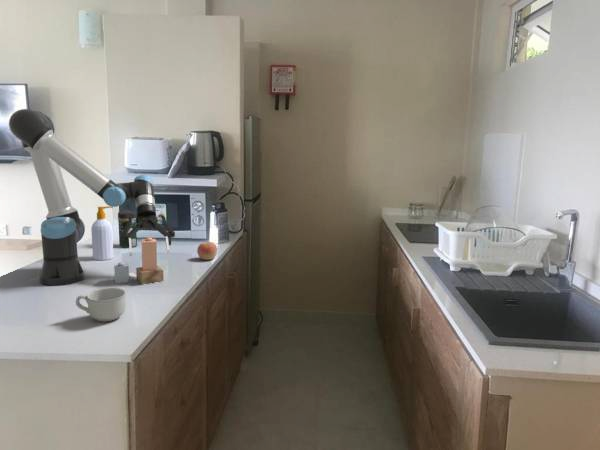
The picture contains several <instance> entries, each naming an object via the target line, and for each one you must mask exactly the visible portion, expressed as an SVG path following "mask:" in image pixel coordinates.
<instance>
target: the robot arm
mask: <svg viewBox="0 0 600 450" xmlns="http://www.w3.org/2000/svg"><path fill="white" fill-rule="evenodd" d="M8 127H9V130H10V132H11V133H12V134H13V136H14V137H15V138H17V139H18V140H20V141H21V144H22V148H23V149H24V150H25V151H27V152H28V153H29V155H30V158H31V162H32V165H33V168H34V171H35V173H36V176H37V180H38V182H39V186H40V189H41V193H42V195H43V199H44V201H45V204H46V205H45V206H46V208H47V210H48V213H47V214H46V216H45V218H46V219H45V220H43V221H42V222H41V224H40V233H41V246H42V259H43V262H42V267H41V271H40V272H39V282H40V284H42V285H46V286H62V285H70V284H75V283H76V282H80V281H82V280H83V279H84V278H85V271H84V269H83V267H82V264H81V262H80V261H79V256H78V243H79V242H80V241H81V240H82V239H83V237H84V235H85V229H86V226H85V224H84V221H83V220H82V219H81V217H80V215H79V211H78V209H77V208H75V207H73V205H72V202H71V200H70V196H69V193H68V190H67V189H68V188H67V187H66V184H65V180H64V177H63V173H62V170H61V169H63V170H64V171H66V172H67V173H69V174H70V175H71V176H73V177H74V178H75V179H76V180H78V181H79V182H81V184H83V185H84V186H86V188H89V190H91V192H93V193H95V194H96V195H97V196H99V197H100V198H101V199H102V200H103V201H104V203H105V204H106V206H107V205H108V206H110V207H113V208H116V207H119V206H121V205H123V204H124V203H125V202H128V201H129V202H130V201H135V214H136V219H132V217H129V220H128V223H127V225H126V227H125V228H124V230H123V232H122V234H121V235H120V237H121V240H125V241H126V248H125V249H129V250H128V251H129V257H132V256H133V247H131V238H132V237H133V236H134V235H135V234H136V235H137V233H138V232H139V231H141V230H142V229H143V230H145V229H146V230H147V229H154V230H155V231H158V233H160V234H161V235H162V236H164V237H165V238H164V239H165V249H166V254H167V255H169V254H170V246H172V238H175V237H176V233H175V230H174V229H173V228H172V227H171V225H170V224H169V223H168V221H167V220H166V217H165V216H164V215H161V217H157V210H156V200H155V190H154V189H155V188H154V183H153V180H152V179H153V178H152V177H151V176H149V175H147V174H139V175H138V176H136V177H134V180H133V181H130V182H129V181H128V182H120V183H116V182H114V181H113V180H112V179H110V178H109V177H108V176H106V175H105V174H104V173H103V172H102V171H101V170H99V169H98V168H96V167H95V166H94V165H93V164H91V163H90V162H89V161H88V160H86V159H85V158H84V157H83V156H82V155H80V154H79V153H77V152H76V151H75V150H74V149H72V148H71V147H69V145H67V144H66V143H64V142H63V140H61V139H59V138H58V137H57V136H56V135H55V124H54V122H53V120H52V119H51V118H50V116H48V115H47V114H46V113H45V112H42V111H39V110H32V109H28V108H24V109H23V108H22V109H19V110H17V111H14V112H13V113H12V114H11V116H10V118H9V120H8ZM134 222H136V226H135V227H134V228H133V229H132V230H131V231H130V232H129V233H128V231H129V229H130V228H131V225H132V224H134ZM158 222H160V224H161V225H160V224H159V223H158ZM162 226H163V227H164V228H163V227H162ZM127 233H128V234H127Z"/></svg>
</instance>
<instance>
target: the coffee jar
mask: <svg viewBox="0 0 600 450" xmlns="http://www.w3.org/2000/svg"><path fill="white" fill-rule="evenodd" d="M129 217H132V219H136V218H137V214H136V212H134V211H132V210H129V209H123V210H122V209H121V210H120V211H118V213H117V224H118V242H119V244H118V245H119V246H120V247H122V248H124V249H127V248H126V241H125V240H121V237H120V235H121V234H122V232H123V230H124V228H125V227H126V225H127V223H128V220H129ZM136 225H137V223H136V222H134V224H132V225H131V228H130V229H129V231H128V233H129V232H130V231H131V230H132V229H133V228H134V227H135V226H136ZM128 233H127V234H128ZM137 236H138V235H137V233H136V234H135V235H134V236H133V237H132V238H131V247H132V248H135V247H137V246H138V241H137V240H138V237H137Z"/></svg>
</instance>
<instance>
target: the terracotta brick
mask: <svg viewBox="0 0 600 450" xmlns="http://www.w3.org/2000/svg"><path fill="white" fill-rule="evenodd" d="M157 254H158V253H157V240H156V238H152V237H150V236H149V237H146V238H145V239H143V238H142V239H141V267H142V268H143V271H145V270H157V265H158V262H157V261H158V260H157V259H158V255H157Z"/></svg>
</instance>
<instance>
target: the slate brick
mask: <svg viewBox="0 0 600 450" xmlns="http://www.w3.org/2000/svg"><path fill="white" fill-rule="evenodd" d="M113 269H114V283H115V284H120V283H121V284H122V283H129V282H130V276H129V273H130V271H129V270H130V269H129V263H125V262H123V261H122V262H118V263H117V264H116V263H115V264H114V267H113Z"/></svg>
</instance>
